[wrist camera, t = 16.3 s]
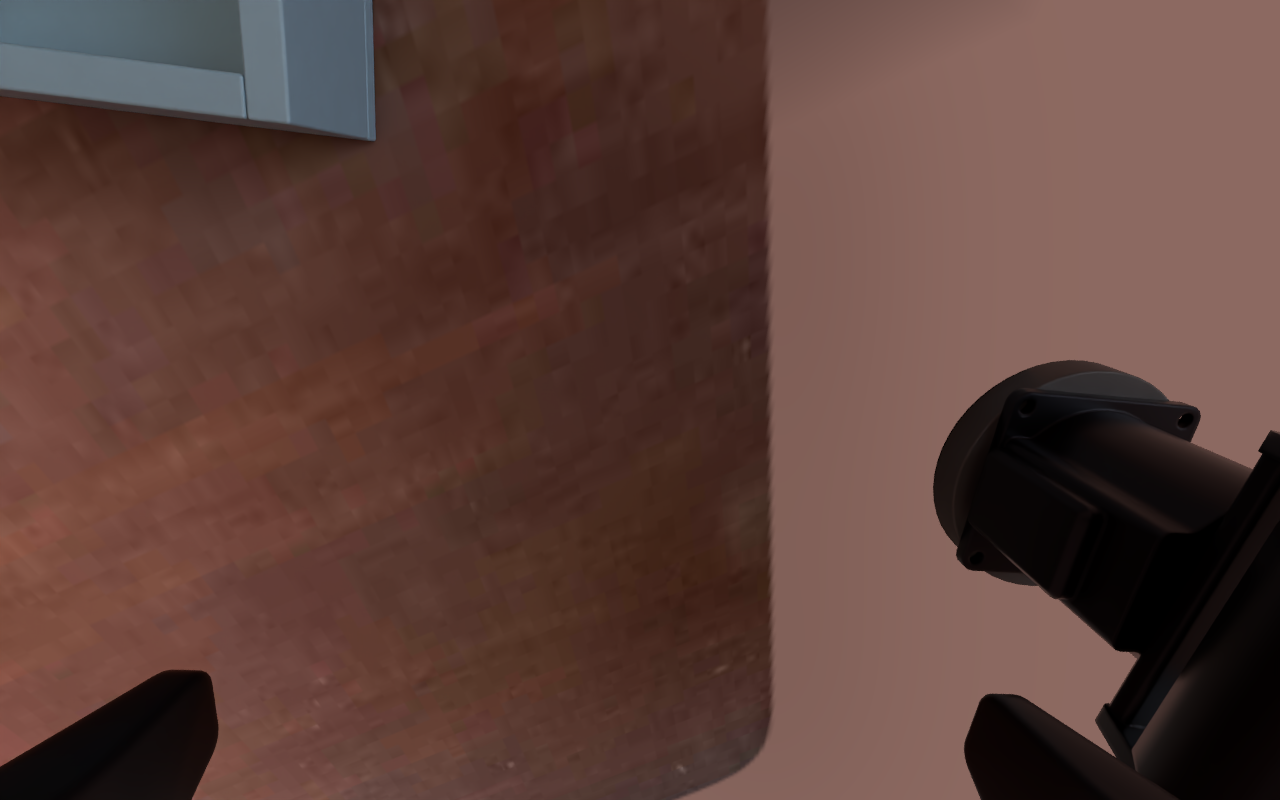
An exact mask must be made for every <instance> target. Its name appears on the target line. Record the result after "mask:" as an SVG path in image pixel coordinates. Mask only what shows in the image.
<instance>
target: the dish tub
mask: <svg viewBox="0 0 1280 800" xmlns="http://www.w3.org/2000/svg"><path fill="white" fill-rule="evenodd" d="M0 96H4V97H12V98H20V99H28V100H36V101H45V102H53V103H61V104H69V105H78V106H86V107H94V108H102V109H110V110H119V111H127V112H135V113H143V114H152V115H160V116H168V117H176V118H184V119H193V120H201V121H209V122H217V123H226V124H234V125H242V126H250V127H258V128H267V129H275V130H283V131H291V132H300V133H308V134H316V135H324V136H332V137H341V138H349V139H357V140H365V141H375V140H376V129H375V90H374V51H373V12H372V0H0Z"/></svg>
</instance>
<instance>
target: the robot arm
mask: <svg viewBox="0 0 1280 800" xmlns="http://www.w3.org/2000/svg"><path fill="white" fill-rule="evenodd" d="M1026 400H1027V404H1026V406H1025V407H1024V408H1023V409H1022V410H1020V406H1021V405H1022V403H1023V402H1024V401H1026ZM1181 416H1182V417H1181ZM1180 417H1181V418H1180ZM1200 417H1201V415H1200V411H1199V410H1198V409H1197V408H1196V407H1193V406H1190V405H1188V404H1185V403H1182V402H1174V401H1164V400H1153V399H1142V398H1131V397H1119V396H1108V395H1097V394H1086V393H1075V392H1064V391H1052V390H1041V389H1030V388H1020V389H1017V390H1015V391H1013V392H1012V393H1011V394H1010V395H1008V397H1007V399H1006V401H1005V403H1004V406H1003V409H1002V412H1001V415H1000V419H999V422H998V425H997V428H996V431H995V434H994V437H993V440H992V443H991V446H990V449H989V453H988V456H987V458H986V462H985V465H984V468H983V471H982V474H981V477H980V480H979V483H978V486H977V489H976V492H975V495H974V499H973V502H972V505H971V508H970V511H969V514H968V517H967V520H966V524H965V527H964V530H963V533H962V536H961V539H960V542H959V545H958V548H957V553H956V556H957V559H958V560H959V561H960V562H961V563H962V564H963V565H964V566H965V567H966V568H967V569H969V570H973V571H991V572H1009V573H1024V574H1025V575H1027V576H1028V577H1029V578H1030V579H1031V580H1032V581H1033V582H1034V583H1035V584H1037V585H1038V586H1039V587H1040V588H1041V589H1042V590H1043V591H1044V592H1045V593H1047V594H1048V595H1049V596H1050V597H1052V598H1054V599H1059V600H1060V601H1061V602H1062V603H1063V604H1064V605H1065V606H1067V607H1068V608H1069V609H1070V610H1071V611H1072V612H1073V613H1074V614H1076V615H1077V616H1078V617H1079V618H1080V619H1081V620H1082V621H1083V622H1085V623H1086V624H1087V625H1088V626H1089V627H1090V628H1091V629H1092V630H1094V631H1095V632H1096V633H1097V634H1098V635H1099V636H1101V638H1103V639H1104V640H1105V641H1106V642H1107V643H1108V644H1109V645H1110V646H1112V647H1113V648H1114V649H1115V650H1117V651H1120V652H1121V651H1122V652H1130V653H1131V654H1132V655H1133V656H1134V657H1136V658H1137V660H1136V662H1135V664H1134V665H1133V667H1132V669H1131V670H1130V672H1129V674H1128V675H1127V677H1126V678H1125V680H1124V682H1123V683H1122V685H1121V687H1120V688H1119V690H1118V692H1117V693H1116V695H1115V696H1114V698H1113V700H1112V701H1111V703H1110V704H1109V703H1107V704H1104V706H1103V708H1102V709H1101V711H1100V713H1099V714H1098V716H1097V717H1096V719H1095V721H1096V724H1097V725H1098V727H1099V729H1100V731H1101V732H1102V734H1103V736H1104V737H1105V739H1106V741H1107V743H1108V744H1109V746H1110V748H1111V749H1112V751H1113V753H1114V754H1115V756H1116V757H1114V756H1112V755H1111V754H1109V753H1108V752H1106V751H1105V750H1103V749H1102V748H1100V747H1099V746H1097V745H1096V744H1094V743H1093V742H1091V741H1090V740H1088V739H1086V738H1085V737H1083V736H1082V735H1080V734H1079V733H1077V732H1076V731H1074V730H1073V729H1071V728H1070V727H1068V726H1067V725H1065V724H1064V723H1062V722H1060V721H1059V720H1057V719H1056V718H1054V717H1053V716H1051V715H1050V714H1048V713H1047V712H1045V711H1043V710H1042V709H1041V708H1039V707H1038V706H1036V705H1035V704H1033V703H1031V702H1030V701H1028V700H1027V699H1025V698H1023V697H1021V696H1018V695H1013V694H987V695H985V696H984V697H983V698H982V699H981V700H980V702H979V705H978V708H977V710H976V713H975V716H974V718H973V721H972V724H971V726H970V729H969V732H968V734H967V737H966V740H965V745H964V753H965V759H966V763H967V766H968V769H969V771H970V773H971V776H972V779H973V781H974V784H975V786H976V789H977V791H978V793H979V796H980V798H981V800H1280V432H1277V431H1272V430H1271V431H1270V432H1269V434H1268V435H1267V437H1266V439H1265V440H1264V442H1263V444H1262V445H1261V447H1260V449H1259V450H1258V451H1259V452H1260V453H1262V455H1261V457H1260V459H1259V460H1258V462H1257V464H1256V465H1255V467H1254V469H1251V468H1248V467H1246V466H1243V465H1241V464H1239V463H1237V462H1234V461H1232V460H1230V459H1227V458H1225V457H1223V456H1220V455H1218V454H1216V453H1213V452H1211V451H1209V450H1207V449H1204V448H1202V447H1199V446H1197V445H1195V444H1193V443H1190V442H1191V440H1192V438H1193V435H1194V433H1195V431H1196V428H1197V426H1198V424H1199V421H1200ZM1179 418H1180V420H1179ZM1178 420H1179V421H1178ZM975 552H977V553H976V554H975V555H974V556H973V557H971V555H972V554H973V553H975ZM217 739H218V720H217V713H216V706H215V699H214V692H213V685H212V681H211V677H210V676H209V675H208V673H206V672H204V671H199V670H167V671H163V672H161V673H159V674H157V675H155V676H153V677H151V678H150V679H148V680H146V681H145V682H143V683H141V684H139V685H138V686H136V687H134V688H133V689H131V690H129V691H128V692H126V693H124V694H123V695H121V696H119V697H117V698H116V699H114V700H112V701H111V702H109V703H107V704H106V705H104V706H102V707H101V708H99V709H97V710H96V711H94V712H92V713H90V714H89V715H87V716H85V717H84V718H82V719H80V720H79V721H77V722H75V723H74V724H72V725H70V726H68V727H67V728H65V729H63V730H62V731H60V732H58V733H57V734H55V735H53V736H52V737H50V738H48V739H46V740H45V741H43V742H41V743H40V744H38V745H36V746H35V747H33V748H31V749H30V750H28V751H26V752H24V753H23V754H21V755H19V756H18V757H16V758H14V759H13V760H11V761H9V762H8V763H6V764H4V765H3V766H1V767H0V800H191V799H192V797H193V795H194V793H195V791H196V789H197V787H198V784H199V782H200V780H201V778H202V776H203V774H204V772H205V769H206V767H207V765H208V763H209V761H210V759H211V757H212V754H213V752H214V749H215V746H216V743H217Z"/></svg>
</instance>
